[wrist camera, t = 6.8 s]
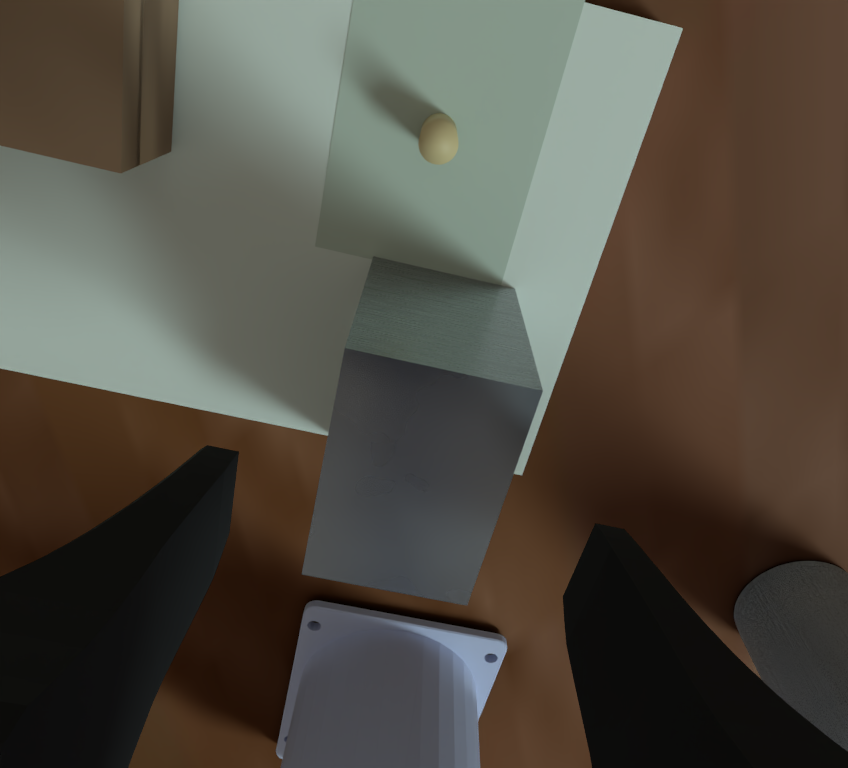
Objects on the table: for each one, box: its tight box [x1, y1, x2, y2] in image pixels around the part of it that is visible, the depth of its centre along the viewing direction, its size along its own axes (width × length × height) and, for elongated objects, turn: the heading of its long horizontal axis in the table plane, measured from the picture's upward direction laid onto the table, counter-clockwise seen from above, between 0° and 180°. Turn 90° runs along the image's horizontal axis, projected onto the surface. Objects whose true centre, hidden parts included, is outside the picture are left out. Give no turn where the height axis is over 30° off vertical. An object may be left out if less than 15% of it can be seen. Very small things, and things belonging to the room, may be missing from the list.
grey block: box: [302, 256, 543, 605], centre depth 17 cm, size 6×4×6 cm, turn 167°
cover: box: [0, 0, 179, 173], centre depth 14 cm, size 5×5×3 cm
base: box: [0, 0, 683, 475], centre depth 18 cm, size 13×17×3 cm
